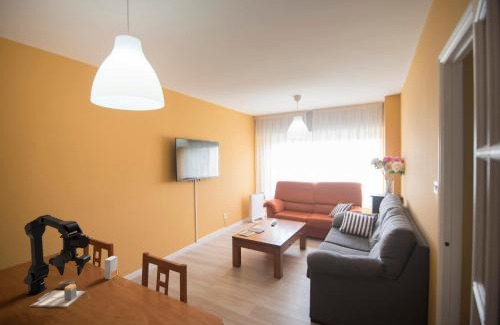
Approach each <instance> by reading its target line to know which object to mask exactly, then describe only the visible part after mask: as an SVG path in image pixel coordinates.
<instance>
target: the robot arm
mask: <svg viewBox="0 0 500 325" xmlns="http://www.w3.org/2000/svg"><path fill="white" fill-rule="evenodd" d="M23 227H24V228H23V229H24V232H25V235H26V236H27V237H28V238H29V241H30V257H31V259H30V260H31V265H30V266H29V268H28V271H27V275H26V277H25V278H24V279H23V283H24V284H25V285H27V288H28V291H27V292H25V295H31V296H33V295H35V296H37V295H38V294H40V293H41V292H43V291H45V290H47V289H48V287H47V286H46V285H45V284H46V283H45V279H46V278H48V276H49V272H50V266H52V267H53V266H54V267H55V268H56V269H57V271H58V272H59V275H60V276H63V275H64V273H65V265H66V264H68V263H69V262H75V267H76V272H77V273H76V274H77V276H78V277H79V276H80V275H81V274H82V271H83V270H84V267H85V265H86V264H87V263H88V262H90V261H91V260H92V258H91V257H92V256H91V255H90V254H82V255H81V256H80V255H79V253H78V252H77V249H85V248H87V247H88V246H89V244H90V240H91V239H90V238H89V237H88V236H87V235H86V234H85V233H84V231H83V229H82V228H81V227H80V224H79V223H78V221H74V220H63V219H60V218H58V217H55V216H52V215H51V214H44V215H39V216H37V217H36V218H35V219H33V220H31V221H29V222H28V223H26V224H25V225H24V226H23ZM47 227H51V228H53V229H56V230H57V232H58V233H59V234H60V236H59V239H62V249H61V250H60V253H59V254H56V255H54V256H52V257H50V258H49V260H48V263H46V261H44V260H45V259H44V244H43V243H44V242H43V236H44V235H45V232H46V229H47ZM78 256H79V257H78Z"/></svg>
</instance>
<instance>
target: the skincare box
mask: <svg viewBox="0 0 500 325" xmlns="http://www.w3.org/2000/svg"><path fill="white" fill-rule="evenodd" d="M117 275H118V256H115V255H111V256H109V257H107V258H106V259H104V279H105V280H112V279H113V278H114V277H116V276H117Z"/></svg>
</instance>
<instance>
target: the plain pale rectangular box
mask: <svg viewBox="0 0 500 325" xmlns="http://www.w3.org/2000/svg"><path fill="white" fill-rule="evenodd" d="M70 284H75V280H61V281H60V282H59V283H57V290H61V289H62V290H63V289H65V287H67V286H68V285H70Z"/></svg>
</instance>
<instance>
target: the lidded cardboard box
mask: <svg viewBox="0 0 500 325" xmlns="http://www.w3.org/2000/svg"><path fill="white" fill-rule="evenodd" d="M77 291H78V290H77V284H70V285H68V286H67V287H65V288H64V299H65V300H72V299H74V298H75V297H76V296H77Z"/></svg>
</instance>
